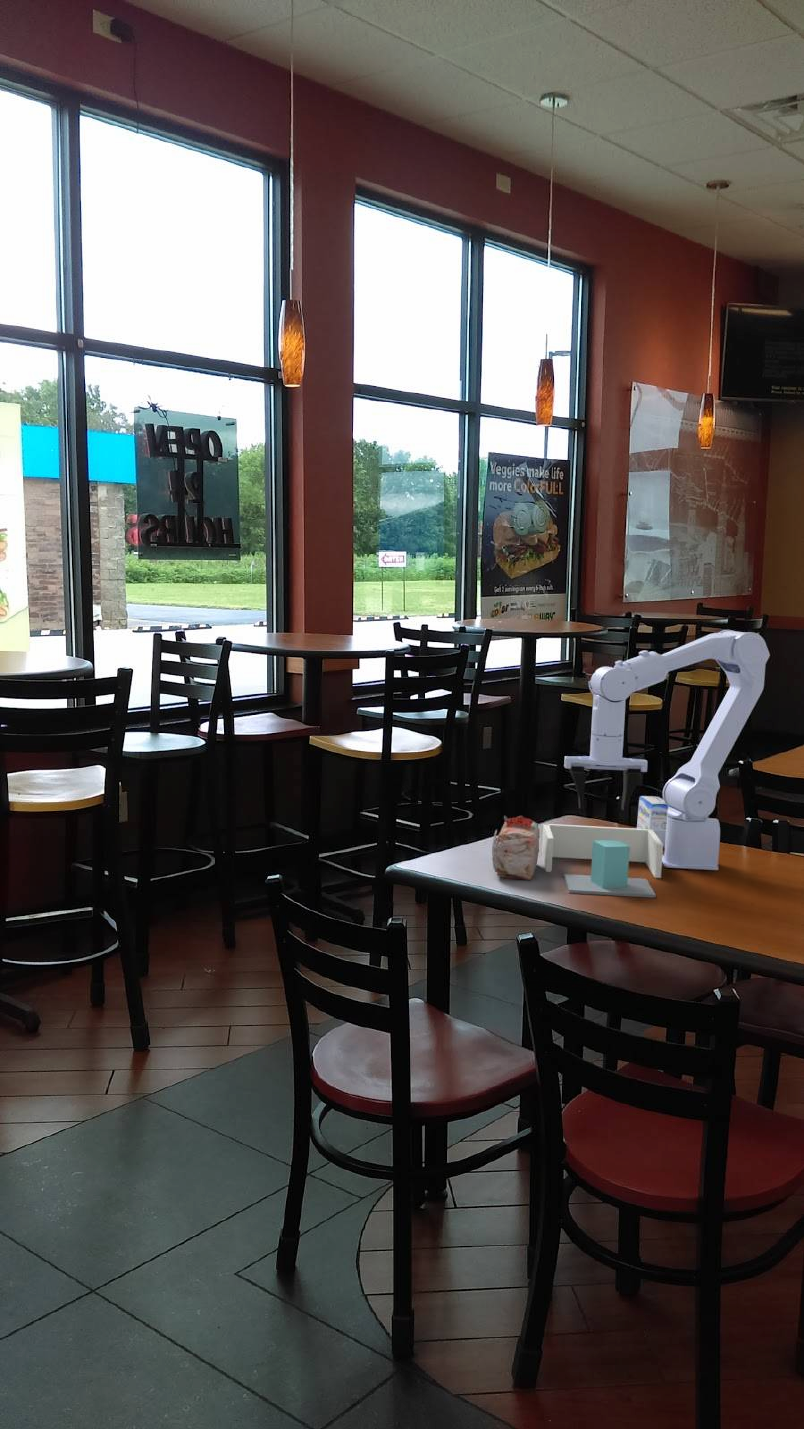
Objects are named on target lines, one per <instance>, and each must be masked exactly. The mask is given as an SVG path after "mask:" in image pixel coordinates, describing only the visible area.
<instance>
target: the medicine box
mask: <svg viewBox="0 0 804 1429" xmlns="http://www.w3.org/2000/svg"><path fill="white" fill-rule="evenodd" d="M667 812H668V806H667V805H666V804H665V802H664V800H663V798H661V797H660V796H653V795H650V796H649V795H648V796H647V795H641V796H639V798H638V809H637V824H636V829H652V830H653V831H654V833H655V834H656V835H657V837H658V838H659V839H660V841H661V842H662V844H663V848H665V838H666V824H667Z"/></svg>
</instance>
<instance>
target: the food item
mask: <svg viewBox="0 0 804 1429" xmlns="http://www.w3.org/2000/svg"><path fill="white" fill-rule="evenodd" d="M503 819H504V823H503V825H502V826H501V829H500V831H499V833H498V830H497V829H495V831H494V835H493V840H492V847H491V853H492V854H491V855H492V857H491V860H492V866H493V870H494V873H496V874H497V876H500V877H503V878H507V879H513V878H515V879H514V880H523V881H525V880H527V881H530V880H532V878H533V875H534V874H535V871H536V868H537V864H538V860H539V852H540V841H539V840H540V829H539V823H537V822H535V821H534V820H532V819H531V818H526V817H524V816H523V815H519V816H516V817H509V818H508V817H507V816H506V815H503ZM497 833H498V834H497ZM497 835H498V836H497Z"/></svg>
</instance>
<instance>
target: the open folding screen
mask: <svg viewBox="0 0 804 1429" xmlns="http://www.w3.org/2000/svg"><path fill="white" fill-rule="evenodd" d="M598 840H618V841H620V842H622V843H624V844H626V845H628V846H630V851H629V862H637V863H645V864H646V866H647V867H648V869H649V871H650V872H651V873H652V875H653V877H654V878H655V879H661V878H662V868H663V866H662V865H663V863H662V855H664V854H663V852H664V851H663V849H664V847H663V844H662V842H661V841H660V839H659V838H658V837H657V835H656V834H655V833H654V831H653V830H652V829H637V828H636V827H635V828H633V827H631V828H630V827H612V826H597V825H596V826H595V825H594V826H593V825H577V824H576V825H574V824H560V823H559V824H555V823H543V824H542V840H541V843H542V844H541V858H542V862H543V866H544V869H545V872H546V873H547V872H548V873H552V867H553V858H561V859H563V858H565V859H582V860H592V851H593V841H598Z"/></svg>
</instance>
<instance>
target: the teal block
mask: <svg viewBox="0 0 804 1429" xmlns="http://www.w3.org/2000/svg"><path fill="white" fill-rule="evenodd" d="M629 851H630V846H628V845H626V844H624V843H622V842H620V841H618V840H598V841H593V851H592V859H591V866H590V867H591V872H590V876H591V882H593V883H595V884H596V885H598V886H600V887H601V888H622V887H627V881H628V878H629V866H630V865H629V862H630V861H629Z"/></svg>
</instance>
